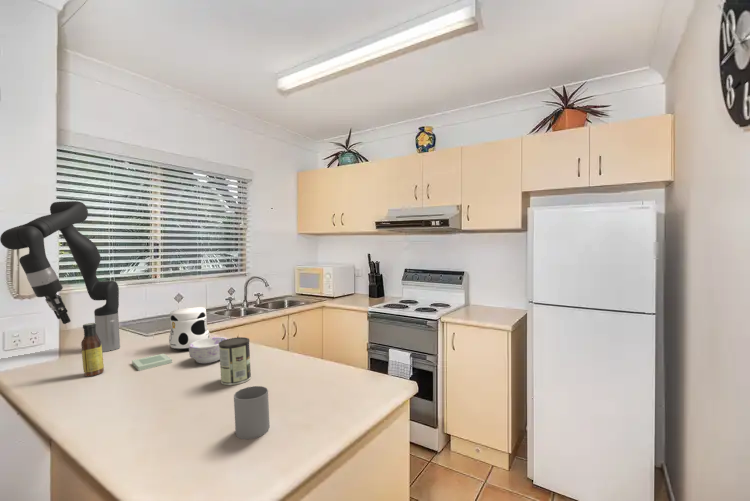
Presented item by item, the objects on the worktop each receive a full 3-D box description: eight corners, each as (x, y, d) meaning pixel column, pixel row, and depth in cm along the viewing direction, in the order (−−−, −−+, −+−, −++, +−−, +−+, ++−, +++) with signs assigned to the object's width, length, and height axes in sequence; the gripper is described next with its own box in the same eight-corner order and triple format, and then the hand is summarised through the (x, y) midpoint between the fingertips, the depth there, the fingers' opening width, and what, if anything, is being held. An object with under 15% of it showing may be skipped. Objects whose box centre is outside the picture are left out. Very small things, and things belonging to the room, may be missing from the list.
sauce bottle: (108, 371, 143) (105, 321, 142) (94, 377, 136) (91, 325, 136) (93, 371, 143) (90, 321, 143) (78, 377, 137) (75, 325, 136)
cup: (241, 423, 97) (239, 387, 97) (272, 421, 98) (270, 385, 98) (231, 440, 89) (229, 401, 89) (265, 438, 89) (263, 398, 89)
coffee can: (236, 373, 136) (234, 336, 135) (257, 376, 131) (255, 338, 131) (213, 383, 126) (212, 343, 126) (235, 387, 122) (233, 346, 122)
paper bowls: (181, 364, 148) (180, 345, 148) (210, 352, 162) (209, 335, 162) (208, 368, 142) (207, 348, 142) (236, 356, 156) (235, 338, 156)
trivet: (132, 364, 150) (131, 360, 150) (164, 356, 159) (163, 353, 159) (138, 370, 142) (138, 366, 142) (172, 362, 150) (171, 359, 150)
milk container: (162, 349, 171) (160, 311, 170) (198, 340, 185) (196, 305, 184) (181, 354, 161) (179, 315, 160) (217, 344, 175) (215, 308, 175)
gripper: (27, 282, 130) (47, 321, 135) (34, 288, 121) (56, 329, 126) (52, 274, 135) (71, 311, 140) (62, 279, 126) (81, 319, 132)
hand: (64, 320), depth 133 cm, fingers open, 8 cm apart
